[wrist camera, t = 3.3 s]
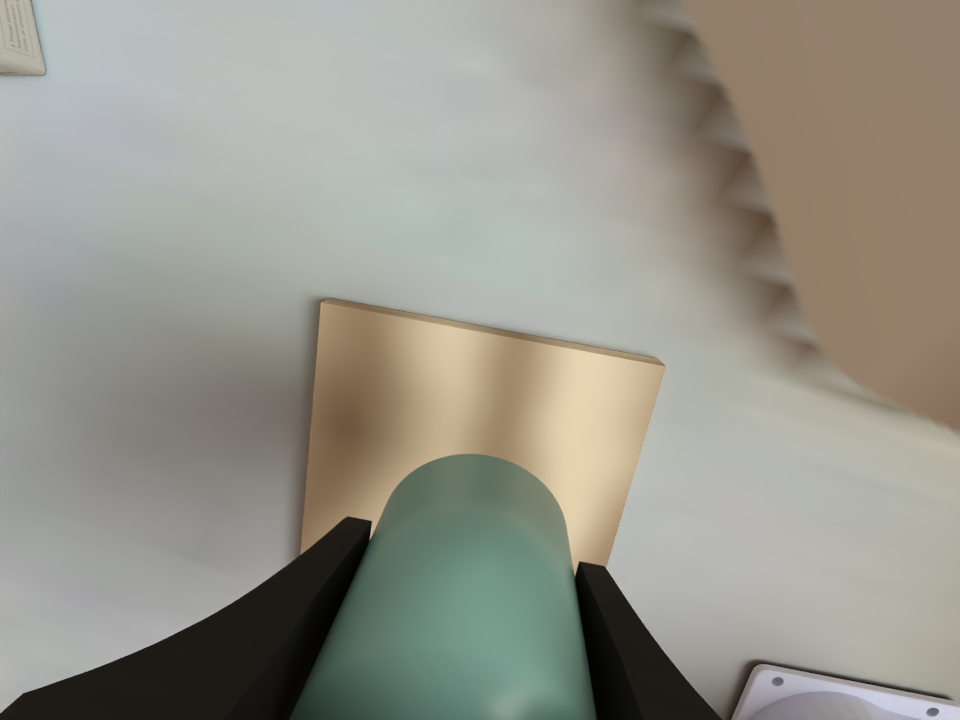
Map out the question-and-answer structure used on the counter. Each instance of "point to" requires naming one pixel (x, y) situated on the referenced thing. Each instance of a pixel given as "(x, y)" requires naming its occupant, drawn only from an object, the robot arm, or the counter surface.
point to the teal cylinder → (458, 607)
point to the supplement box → (19, 40)
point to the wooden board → (471, 415)
